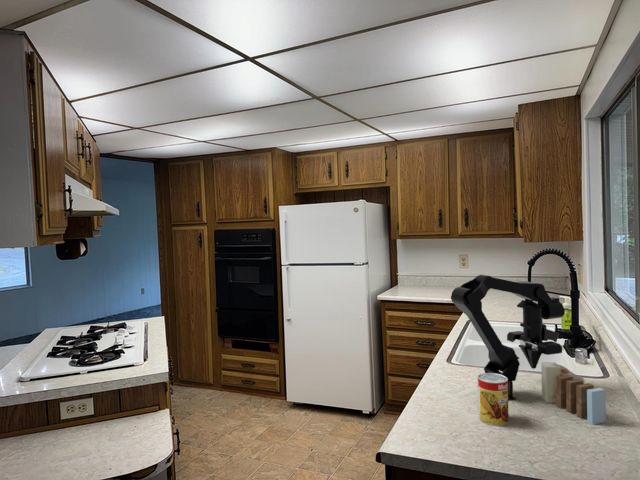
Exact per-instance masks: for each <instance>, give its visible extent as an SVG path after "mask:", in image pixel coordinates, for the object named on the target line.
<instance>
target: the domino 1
mask: <svg viewBox="0 0 640 480" xmlns="http://www.w3.org/2000/svg"><path fill="white" fill-rule="evenodd" d="M556 378H557V403H556V407H557V408H559V409H561V410H562V409H567V406H566V381H569V380H573V377H572V376H570V375H566V376H559V377H556Z"/></svg>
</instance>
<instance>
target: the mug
mask: <svg viewBox="0 0 640 480" xmlns="http://www.w3.org/2000/svg"><path fill="white" fill-rule="evenodd" d="M558 365H559V366H560V367H561V376H566V375H570V376H572V377H573V380H576V379H580V380H582V381H583V384H586V380H585V378H584V377H583V376H581V375H577V374H575V373H574V372H572V371H571V370H570V369H568V368H567V367H565V366H563V365H562V364H558Z"/></svg>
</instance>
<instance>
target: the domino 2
mask: <svg viewBox="0 0 640 480" xmlns="http://www.w3.org/2000/svg"><path fill="white" fill-rule="evenodd" d="M581 384H583V381H582V380H580V379H576V380H569V381H566V406H567V408H566V412H567V413H568V414H577V403H576V385H581Z"/></svg>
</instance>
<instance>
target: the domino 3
mask: <svg viewBox="0 0 640 480" xmlns="http://www.w3.org/2000/svg"><path fill="white" fill-rule="evenodd" d="M589 389H595V386H594V384H592V383H589V382H588V383H585V384H581V385H576V403H577V413H576V417H577V418H578V419H581V420H583V419H587V390H589Z"/></svg>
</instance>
